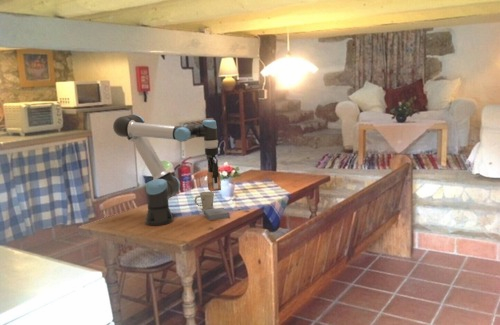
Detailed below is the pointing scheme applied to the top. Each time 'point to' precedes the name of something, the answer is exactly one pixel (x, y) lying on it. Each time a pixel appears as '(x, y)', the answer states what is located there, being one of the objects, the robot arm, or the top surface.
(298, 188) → the top surface
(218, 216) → the base
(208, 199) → the mug
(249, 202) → the top surface
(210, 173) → the block
